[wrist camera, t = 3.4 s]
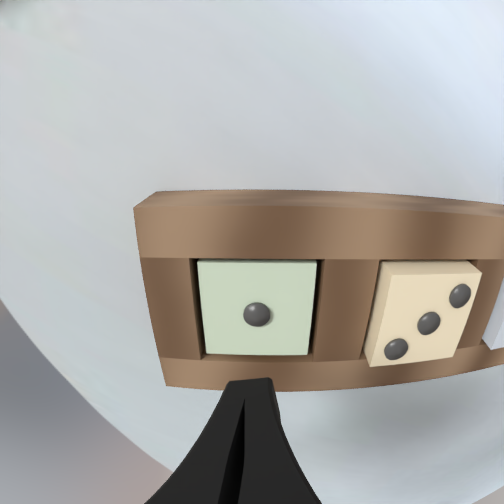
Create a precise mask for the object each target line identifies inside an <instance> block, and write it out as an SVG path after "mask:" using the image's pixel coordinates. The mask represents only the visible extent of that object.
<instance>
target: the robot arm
mask: <svg viewBox="0 0 504 504" xmlns="http://www.w3.org/2000/svg"><path fill="white" fill-rule="evenodd" d="M144 504H322V503H321V502H320V500H319V499H318V497H317V496H316V494H315V492H314V491H313V489H312V487H311V486H310V484H309V482H308V481H307V479H306V477H305V475H304V473H303V472H302V470H301V468H300V466H299V464H298V462H297V460H296V458H295V456H294V454H293V452H292V449H291V447H290V445H289V443H288V440H287V438H286V436H285V433H284V430H283V428H282V425H281V419H280V412H279V407H278V403H277V398H276V394H275V389H274V385H273V380H272V379H271V378H269V377H265V378H256V379H246V380H234V381H229V382H228V383H227V385H226V387H225V389H224V391H223V393H222V396H221V398H220V400H219V402H218V404H217V406H216V408H215V410H214V412H213V413H212V415H211V417H210V419H209V421H208V422H207V424H206V426H205V428H204V429H203V431H202V433H201V434H200V436H199V438H198V439H197V441H196V442H195V444H194V445H193V447H192V448H191V450H190V451H189V453H188V454H187V456H186V457H185V458H184V460H183V461H182V462H181V464H180V465H179V466H178V468H177V469H176V470H175V471H174V473H173V474H172V475H171V476H170V478H169V479H168V480H167V481H166V482H165V483H164V484H163V485H162V486H161V488H160V489H159V490H158V491H157V492H156V493H155V494H154V495H153V496H152V497H151V498H150V499H149V500H148V501H147V502H146V503H144Z"/></svg>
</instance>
